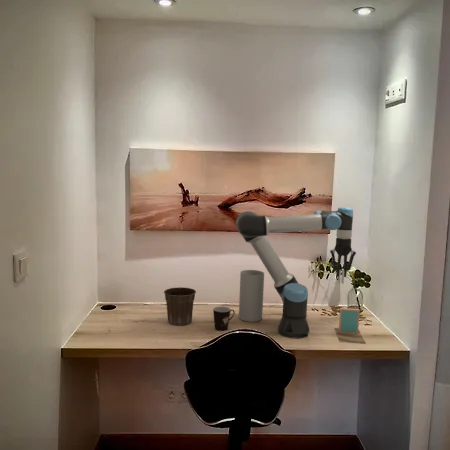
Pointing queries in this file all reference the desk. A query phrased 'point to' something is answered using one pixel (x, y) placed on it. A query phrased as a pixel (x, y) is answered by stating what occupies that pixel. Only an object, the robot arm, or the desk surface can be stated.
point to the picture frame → (349, 320)
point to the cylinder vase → (251, 295)
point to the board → (350, 337)
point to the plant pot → (179, 305)
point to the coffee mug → (222, 318)
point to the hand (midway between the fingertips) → (340, 282)
